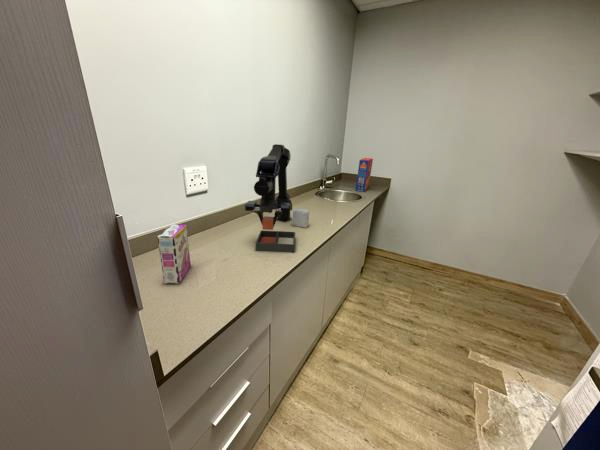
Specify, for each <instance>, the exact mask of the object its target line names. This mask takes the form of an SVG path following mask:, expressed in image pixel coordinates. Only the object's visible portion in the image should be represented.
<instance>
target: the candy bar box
mask: <svg viewBox="0 0 600 450" xmlns="http://www.w3.org/2000/svg"><path fill="white" fill-rule="evenodd" d="M156 238H157V245H158V250H159V257H160V263H161V271H162V277H163V284H165V285H179V284H181V282H182V280H183V279H184V277H185V276H186V274H187V273H188V272H189V270H190V269H191V267H192V265H191V257H190V255H191V254H190V248H189V235H188V227H187V224H175V223H173V224H171V225H169V226H168V227H167V228H165V230H163V231H162V232H161V233H160V234H159V235H157V237H156Z"/></svg>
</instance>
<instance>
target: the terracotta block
mask: <svg viewBox="0 0 600 450" xmlns="http://www.w3.org/2000/svg"><path fill="white" fill-rule="evenodd" d="M273 222H274V216H267V215H265V216H264V215H263V220H262V224H261V226H262V229H261V230H263V231H274V227H275V225H274V226H273Z"/></svg>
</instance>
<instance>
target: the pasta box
mask: <svg viewBox="0 0 600 450" xmlns="http://www.w3.org/2000/svg"><path fill="white" fill-rule="evenodd" d="M373 161H374V159H373V158H370V157H363V158H361V159H359V163H358V169H357V177H356V185H355V192H360V193H361V192H362V193H365V192H366V191H367V190H368V189H369V187H370V181H371V174H372V168H373Z"/></svg>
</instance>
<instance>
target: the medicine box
mask: <svg viewBox="0 0 600 450" xmlns="http://www.w3.org/2000/svg"><path fill="white" fill-rule="evenodd" d="M309 221H310V210H309V209H307V210H306V209H300V208H294V209H293V210H292V226H293V227H298V228H305V229H307V228H308V227H309Z"/></svg>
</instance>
